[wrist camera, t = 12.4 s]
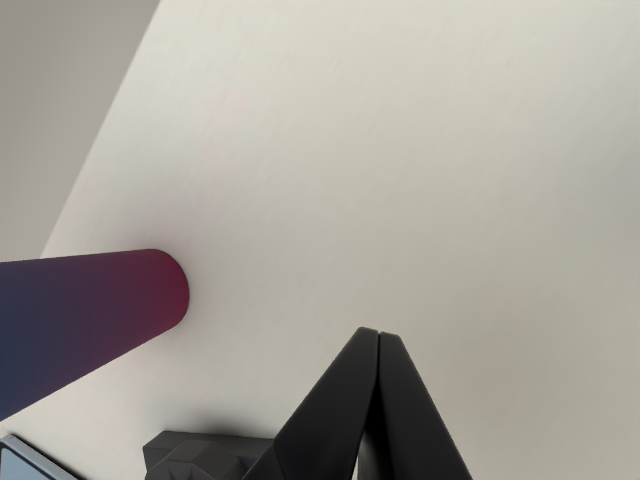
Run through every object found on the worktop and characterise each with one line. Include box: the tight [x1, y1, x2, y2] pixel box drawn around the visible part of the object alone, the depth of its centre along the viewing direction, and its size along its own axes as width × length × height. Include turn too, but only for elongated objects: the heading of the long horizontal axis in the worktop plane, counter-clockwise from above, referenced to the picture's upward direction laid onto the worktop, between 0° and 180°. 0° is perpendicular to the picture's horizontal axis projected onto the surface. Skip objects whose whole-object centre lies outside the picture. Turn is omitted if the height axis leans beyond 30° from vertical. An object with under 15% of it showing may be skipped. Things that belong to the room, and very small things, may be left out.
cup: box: [0, 249, 189, 421], centre depth 16 cm, size 7×7×15 cm
